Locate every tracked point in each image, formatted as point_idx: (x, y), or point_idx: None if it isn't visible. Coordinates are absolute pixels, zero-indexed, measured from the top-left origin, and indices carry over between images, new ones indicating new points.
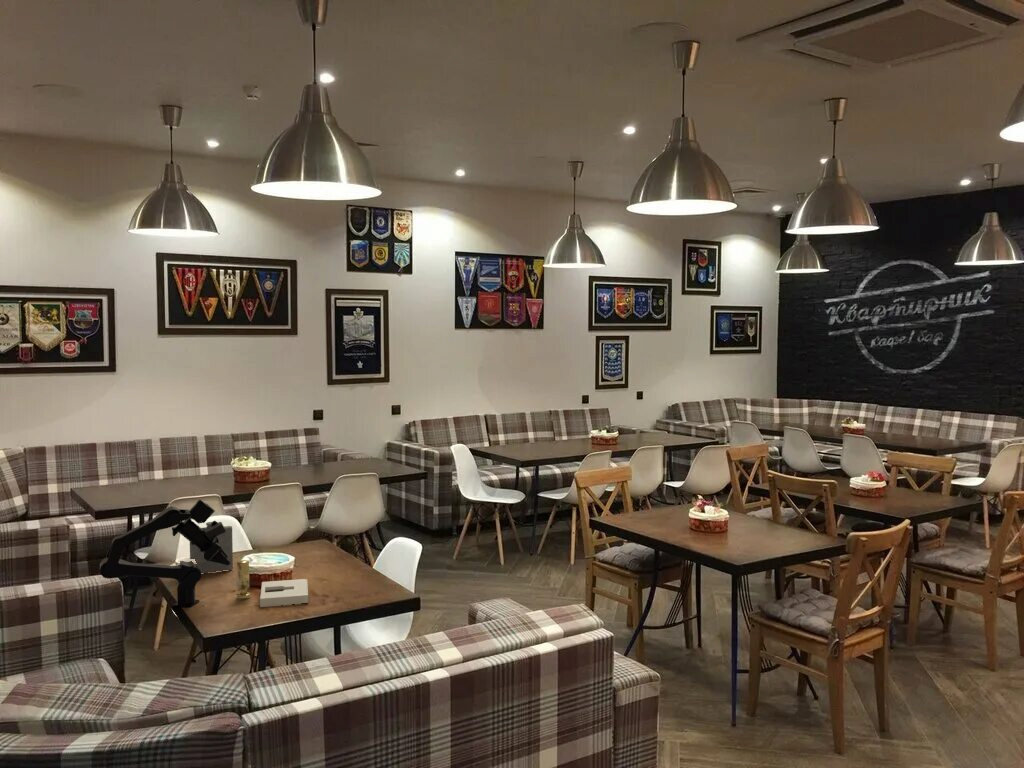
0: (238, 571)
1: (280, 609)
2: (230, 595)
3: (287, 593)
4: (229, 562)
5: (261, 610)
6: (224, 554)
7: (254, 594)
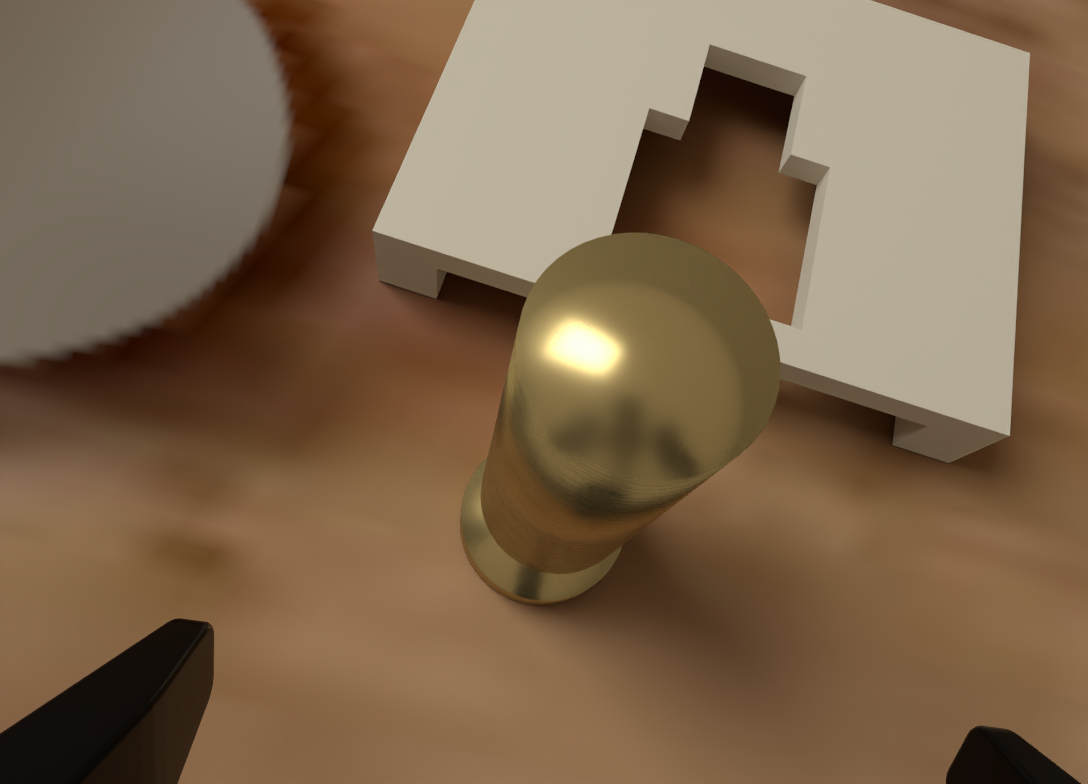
0: (653, 514)
1: (1064, 329)
2: (365, 643)
3: (922, 165)
4: (1042, 761)
5: (1045, 481)
6: (145, 741)
7: (487, 391)
